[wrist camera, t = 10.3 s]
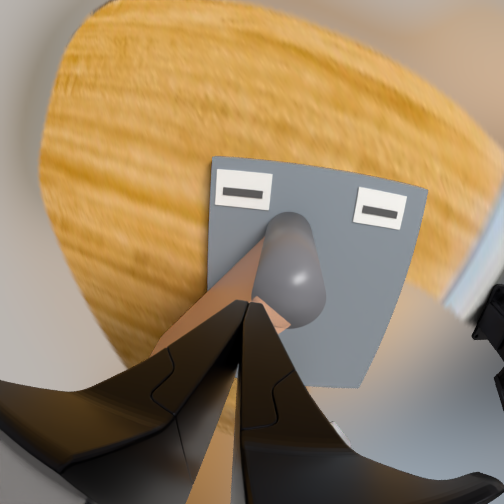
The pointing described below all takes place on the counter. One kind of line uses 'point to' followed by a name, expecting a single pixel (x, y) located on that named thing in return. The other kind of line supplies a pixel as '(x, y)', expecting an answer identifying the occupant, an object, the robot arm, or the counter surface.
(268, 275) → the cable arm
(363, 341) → the label board
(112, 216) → the counter surface
